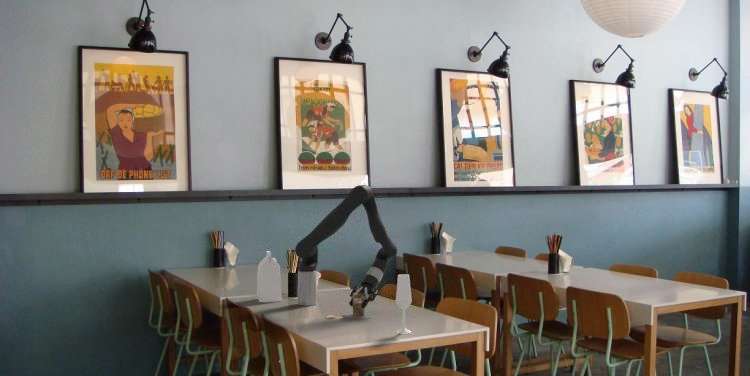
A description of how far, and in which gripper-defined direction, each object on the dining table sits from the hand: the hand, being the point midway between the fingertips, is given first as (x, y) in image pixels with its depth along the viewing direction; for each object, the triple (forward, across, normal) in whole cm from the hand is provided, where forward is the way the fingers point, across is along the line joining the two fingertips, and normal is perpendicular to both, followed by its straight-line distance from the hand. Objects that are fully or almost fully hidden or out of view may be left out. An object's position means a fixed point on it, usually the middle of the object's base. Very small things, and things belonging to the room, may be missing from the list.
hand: (356, 306), depth 340 cm
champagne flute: (+13, +39, -6) cm, 42 cm away
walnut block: (+2, 0, +4) cm, 5 cm away
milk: (0, -68, +8) cm, 68 cm away
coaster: (+10, -6, -4) cm, 12 cm away
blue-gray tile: (+2, 0, +4) cm, 5 cm away
